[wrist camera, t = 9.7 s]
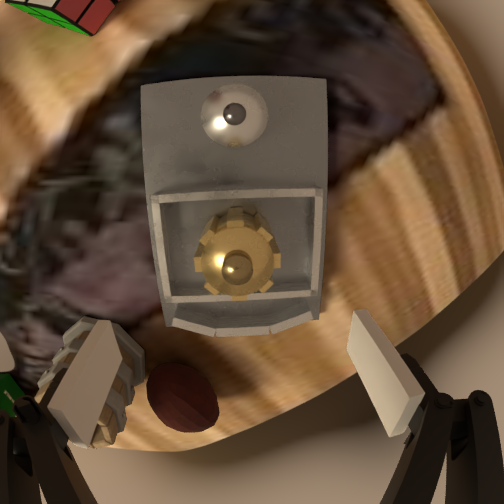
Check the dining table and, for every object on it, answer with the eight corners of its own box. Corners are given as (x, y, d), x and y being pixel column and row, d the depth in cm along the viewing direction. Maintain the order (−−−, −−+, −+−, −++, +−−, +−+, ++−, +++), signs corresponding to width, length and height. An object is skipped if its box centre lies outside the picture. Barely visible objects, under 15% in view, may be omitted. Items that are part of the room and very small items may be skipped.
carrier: (167, 321, 36) (159, 346, 31) (144, 87, 26) (128, 77, 21) (316, 314, 37) (327, 338, 32) (322, 81, 27) (339, 70, 22)
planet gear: (205, 276, 33) (196, 312, 25) (199, 209, 30) (186, 228, 23) (273, 273, 33) (283, 308, 26) (272, 205, 30) (283, 224, 23)
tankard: (99, 302, 34) (48, 378, 20) (162, 365, 39) (142, 451, 24) (38, 355, 37) (-2, 415, 23) (89, 403, 42) (64, 467, 27)
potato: (183, 337, 37) (172, 387, 28) (234, 389, 41) (236, 438, 32) (138, 361, 38) (121, 408, 29) (190, 407, 42) (185, 453, 33)
